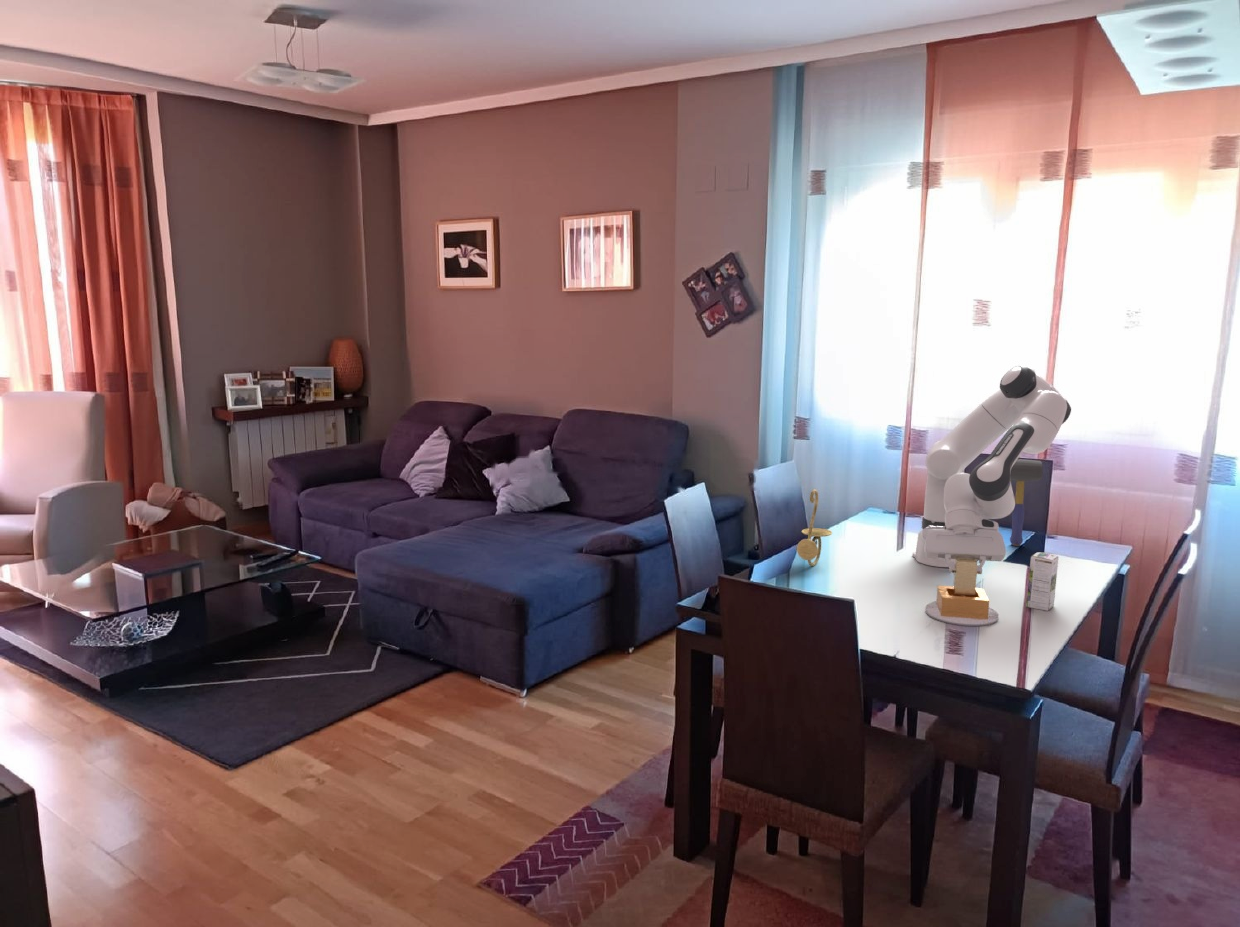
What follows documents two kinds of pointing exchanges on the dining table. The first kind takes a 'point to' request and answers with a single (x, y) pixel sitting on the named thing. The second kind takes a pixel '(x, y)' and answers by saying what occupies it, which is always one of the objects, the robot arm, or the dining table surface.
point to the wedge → (965, 576)
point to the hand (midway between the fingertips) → (965, 572)
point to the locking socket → (962, 608)
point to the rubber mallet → (1022, 493)
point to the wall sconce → (809, 547)
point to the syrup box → (1042, 581)
